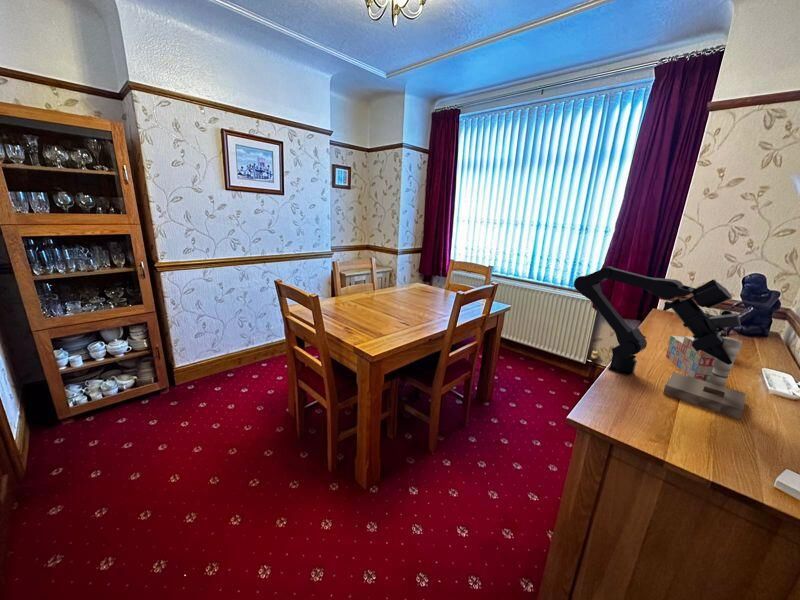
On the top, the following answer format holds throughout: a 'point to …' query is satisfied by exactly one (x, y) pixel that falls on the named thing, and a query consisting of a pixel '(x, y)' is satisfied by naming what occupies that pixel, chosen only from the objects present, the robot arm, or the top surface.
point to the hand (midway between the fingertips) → (731, 361)
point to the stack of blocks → (690, 358)
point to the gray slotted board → (706, 395)
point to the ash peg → (722, 368)
